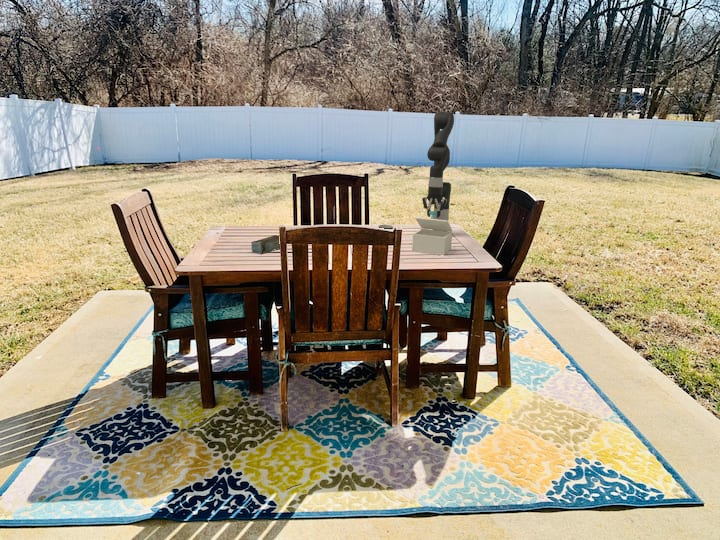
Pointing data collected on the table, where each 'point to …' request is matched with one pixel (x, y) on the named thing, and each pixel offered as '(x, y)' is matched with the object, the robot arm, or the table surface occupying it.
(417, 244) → the box
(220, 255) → the table surface
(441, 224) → the lid
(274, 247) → the beverage carton
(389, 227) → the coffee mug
